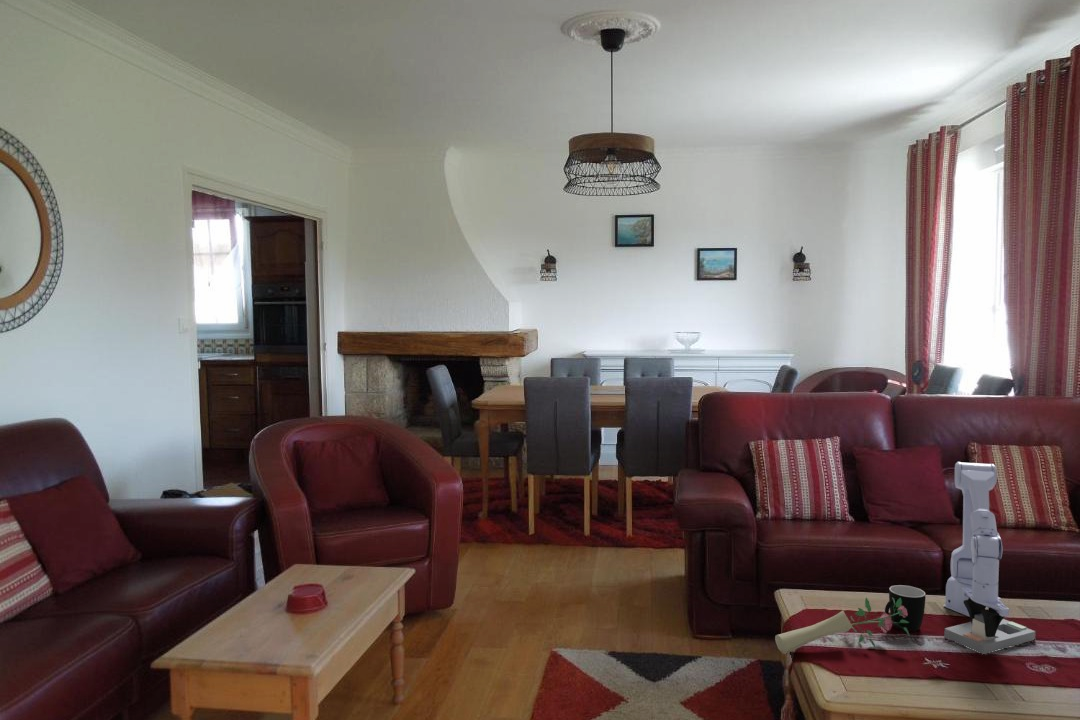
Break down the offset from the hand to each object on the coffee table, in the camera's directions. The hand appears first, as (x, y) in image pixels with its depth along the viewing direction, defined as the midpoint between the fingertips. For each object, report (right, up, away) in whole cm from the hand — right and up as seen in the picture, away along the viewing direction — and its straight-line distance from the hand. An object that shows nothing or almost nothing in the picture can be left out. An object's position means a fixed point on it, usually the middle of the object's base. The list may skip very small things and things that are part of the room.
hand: (983, 632), depth 192 cm
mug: (-16, -3, +11) cm, 19 cm away
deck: (+4, -3, +3) cm, 6 cm away
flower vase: (-38, -4, -1) cm, 38 cm away
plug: (0, -2, 0) cm, 2 cm away
